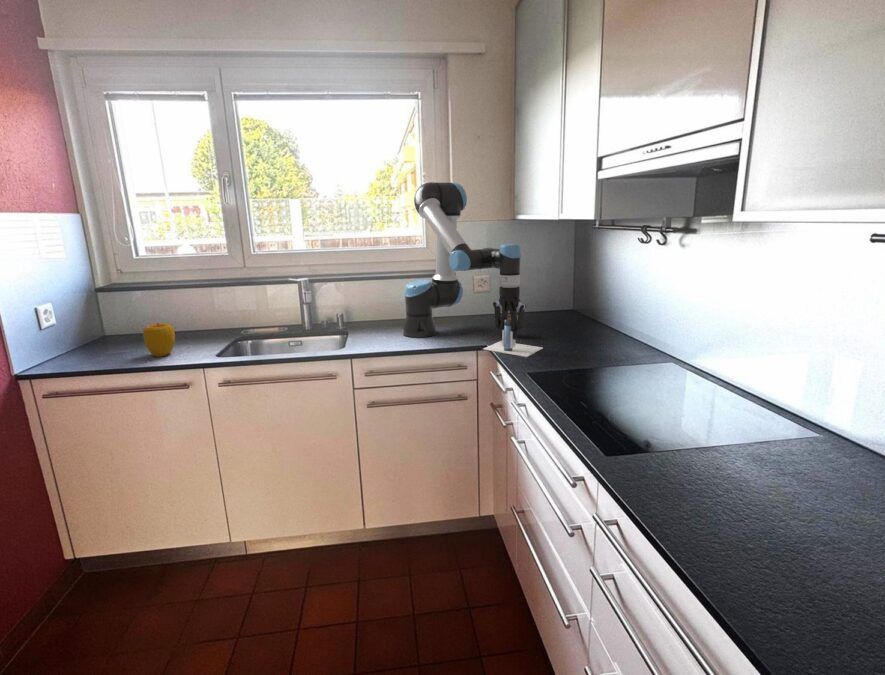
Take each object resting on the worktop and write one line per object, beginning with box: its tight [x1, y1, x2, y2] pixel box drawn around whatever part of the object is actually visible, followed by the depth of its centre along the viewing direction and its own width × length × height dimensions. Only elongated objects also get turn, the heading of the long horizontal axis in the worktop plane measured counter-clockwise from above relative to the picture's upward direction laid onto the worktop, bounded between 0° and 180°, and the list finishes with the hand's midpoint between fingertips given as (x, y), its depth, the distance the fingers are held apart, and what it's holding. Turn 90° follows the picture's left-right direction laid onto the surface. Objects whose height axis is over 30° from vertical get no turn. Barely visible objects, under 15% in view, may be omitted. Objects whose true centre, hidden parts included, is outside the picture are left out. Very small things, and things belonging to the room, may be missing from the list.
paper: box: [482, 340, 544, 358], centre depth 187 cm, size 19×14×1 cm
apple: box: [142, 322, 176, 358], centre depth 187 cm, size 11×11×13 cm
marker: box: [504, 319, 512, 351], centre depth 184 cm, size 3×3×12 cm
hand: (508, 346), depth 185 cm, fingers closed on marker, 3 cm apart
